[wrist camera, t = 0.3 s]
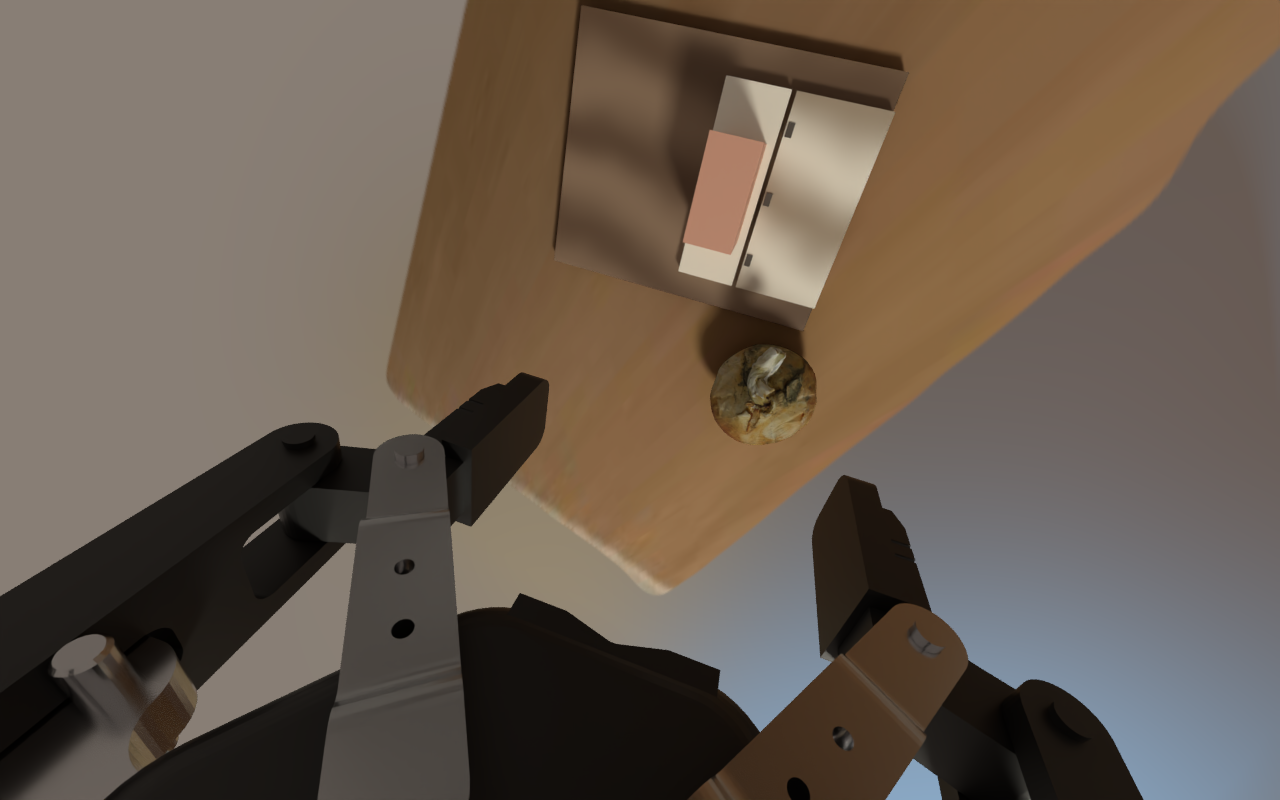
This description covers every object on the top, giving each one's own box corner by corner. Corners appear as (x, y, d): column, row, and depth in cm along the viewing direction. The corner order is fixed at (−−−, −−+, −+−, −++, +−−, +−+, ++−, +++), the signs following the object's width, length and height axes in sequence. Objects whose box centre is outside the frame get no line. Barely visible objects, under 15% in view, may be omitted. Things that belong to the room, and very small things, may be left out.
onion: (696, 361, 39) (678, 405, 32) (783, 311, 35) (784, 349, 28) (743, 431, 41) (736, 486, 34) (832, 390, 37) (843, 443, 30)
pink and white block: (727, 77, 29) (716, 60, 24) (791, 91, 28) (794, 77, 23) (680, 268, 35) (663, 287, 30) (732, 283, 34) (724, 304, 29)
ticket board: (587, 9, 30) (575, 1, 28) (905, 75, 27) (913, 69, 26) (559, 257, 38) (549, 262, 36) (802, 326, 35) (803, 335, 34)
